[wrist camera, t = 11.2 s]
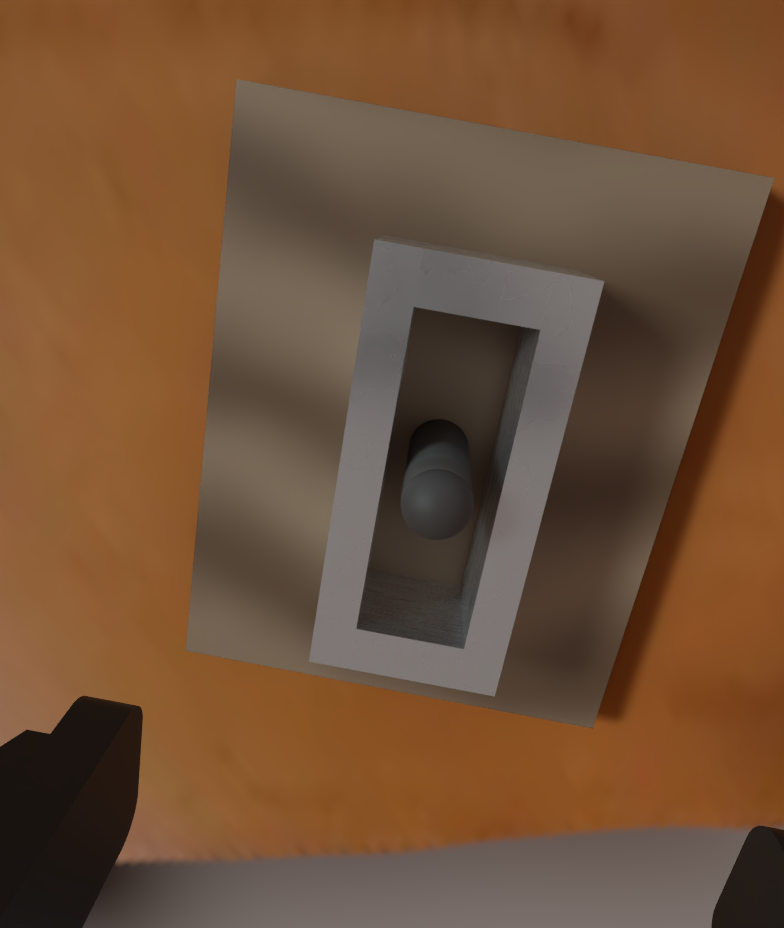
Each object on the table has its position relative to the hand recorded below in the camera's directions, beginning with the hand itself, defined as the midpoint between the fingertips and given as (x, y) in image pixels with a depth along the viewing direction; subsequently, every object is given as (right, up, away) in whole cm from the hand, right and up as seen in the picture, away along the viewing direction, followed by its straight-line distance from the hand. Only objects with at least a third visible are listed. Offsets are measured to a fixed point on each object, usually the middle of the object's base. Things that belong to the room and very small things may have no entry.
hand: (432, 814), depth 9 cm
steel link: (+1, +5, +15) cm, 16 cm away
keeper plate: (+1, +6, +16) cm, 17 cm away
